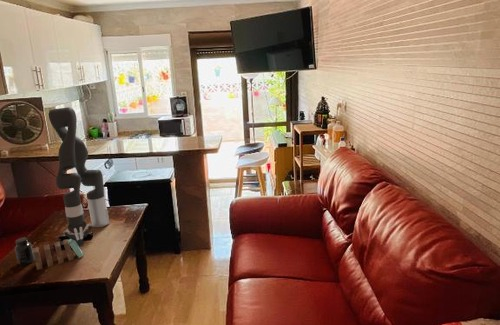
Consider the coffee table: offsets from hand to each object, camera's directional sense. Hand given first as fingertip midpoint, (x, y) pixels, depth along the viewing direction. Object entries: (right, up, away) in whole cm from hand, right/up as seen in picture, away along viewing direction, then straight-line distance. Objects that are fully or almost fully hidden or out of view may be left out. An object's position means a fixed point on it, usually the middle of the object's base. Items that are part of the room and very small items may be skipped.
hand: (80, 245), depth 179 cm
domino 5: (-1, -5, +1) cm, 5 cm away
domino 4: (-4, -6, -1) cm, 7 cm away
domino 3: (-8, -7, -3) cm, 11 cm away
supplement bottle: (-25, -7, -3) cm, 26 cm away
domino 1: (-16, -8, -8) cm, 19 cm away
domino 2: (-12, -7, -6) cm, 15 cm away
